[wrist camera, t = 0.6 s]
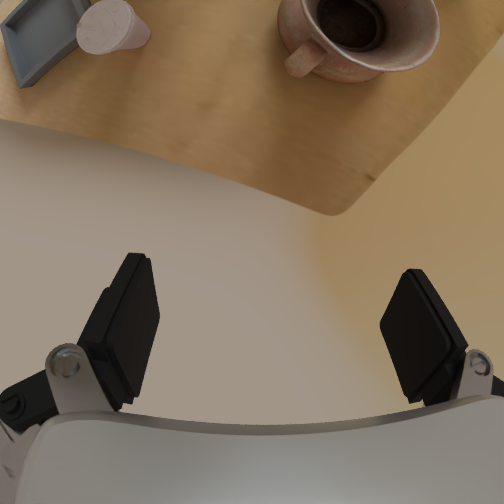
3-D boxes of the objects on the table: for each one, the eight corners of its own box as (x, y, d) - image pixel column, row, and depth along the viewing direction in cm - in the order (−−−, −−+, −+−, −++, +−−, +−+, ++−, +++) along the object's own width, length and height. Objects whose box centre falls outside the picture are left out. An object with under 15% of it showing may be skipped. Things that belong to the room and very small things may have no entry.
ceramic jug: (342, -38, 20) (380, -82, 8) (414, 44, 26) (481, 39, 14) (236, 33, 27) (222, 4, 15) (317, 115, 33) (350, 135, 21)
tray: (11, 25, 21) (-1, 25, 18) (76, -33, 18) (66, -37, 15) (31, 86, 28) (19, 88, 25) (101, 29, 25) (90, 27, 22)
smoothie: (115, 63, 28) (51, 62, 16) (114, 20, 24) (52, 3, 13) (161, 52, 28) (112, 40, 16) (160, 9, 24) (113, -22, 13)
